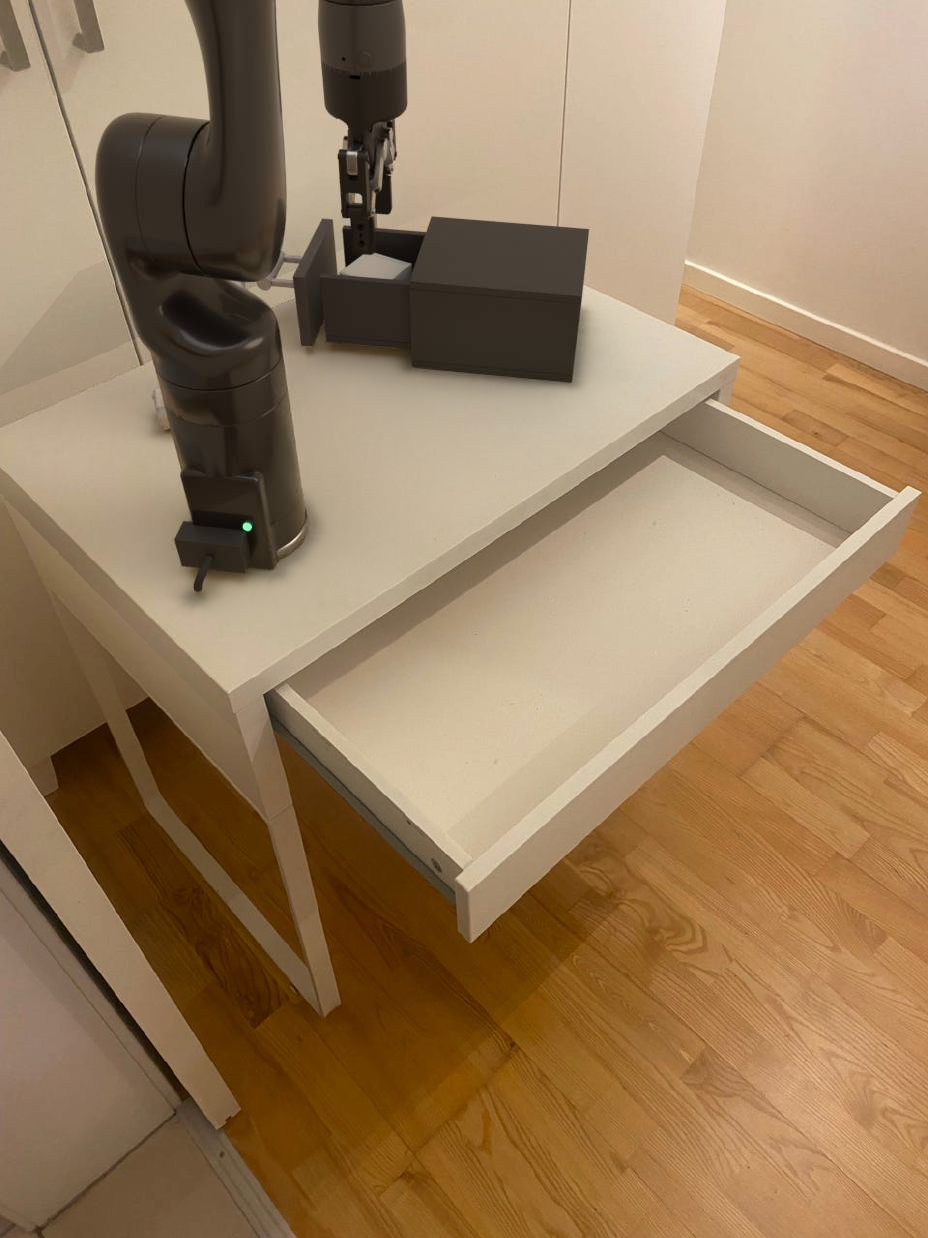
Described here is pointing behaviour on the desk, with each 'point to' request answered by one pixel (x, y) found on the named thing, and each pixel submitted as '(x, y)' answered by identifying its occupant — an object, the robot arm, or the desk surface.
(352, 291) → the open dark drawer
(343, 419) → the desk surface
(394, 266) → the small box
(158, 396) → the smartwatch
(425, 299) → the dark brown box
